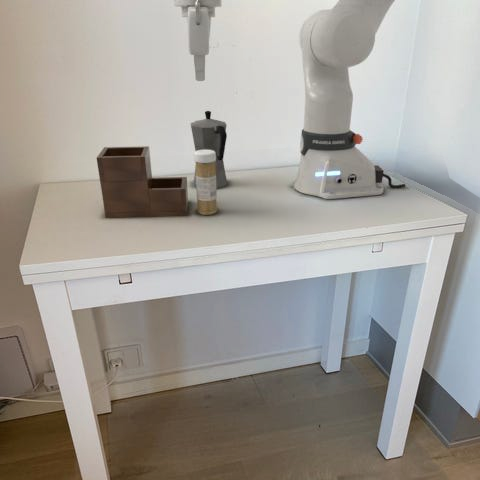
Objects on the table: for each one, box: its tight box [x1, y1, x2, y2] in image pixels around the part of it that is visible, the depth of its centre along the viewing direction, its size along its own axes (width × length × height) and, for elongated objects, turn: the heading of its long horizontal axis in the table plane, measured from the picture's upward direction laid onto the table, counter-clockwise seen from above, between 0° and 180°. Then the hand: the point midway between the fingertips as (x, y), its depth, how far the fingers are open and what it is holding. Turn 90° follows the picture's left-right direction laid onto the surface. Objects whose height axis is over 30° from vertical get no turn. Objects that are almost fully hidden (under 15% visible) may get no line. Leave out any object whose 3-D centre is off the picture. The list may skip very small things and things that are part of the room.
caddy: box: [96, 145, 189, 219], centre depth 111 cm, size 18×10×13 cm, turn 94°
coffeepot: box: [190, 110, 228, 189], centre depth 125 cm, size 15×9×18 cm, turn 29°
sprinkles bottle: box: [193, 150, 218, 216], centre depth 109 cm, size 5×5×13 cm
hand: (200, 78), depth 100 cm, fingers open, 8 cm apart
